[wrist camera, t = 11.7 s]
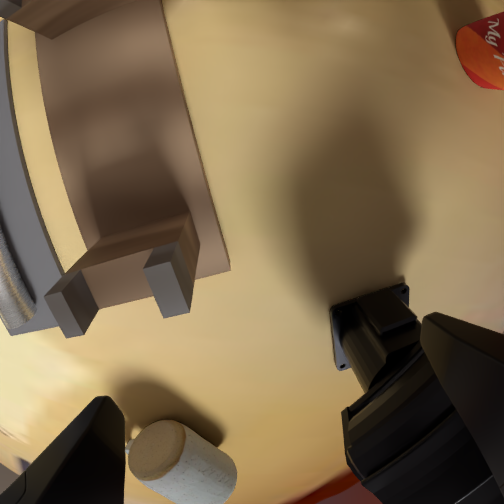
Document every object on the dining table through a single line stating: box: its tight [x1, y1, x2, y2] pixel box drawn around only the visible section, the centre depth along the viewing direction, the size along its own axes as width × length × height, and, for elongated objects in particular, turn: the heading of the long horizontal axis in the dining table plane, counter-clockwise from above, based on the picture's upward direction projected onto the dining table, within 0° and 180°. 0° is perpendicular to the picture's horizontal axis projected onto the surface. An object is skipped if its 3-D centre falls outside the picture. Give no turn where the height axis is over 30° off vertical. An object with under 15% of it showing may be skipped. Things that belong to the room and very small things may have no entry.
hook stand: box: [0, 0, 231, 338], centre depth 11 cm, size 21×8×8 cm, turn 14°
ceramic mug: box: [125, 420, 237, 504], centre depth 22 cm, size 11×8×8 cm
